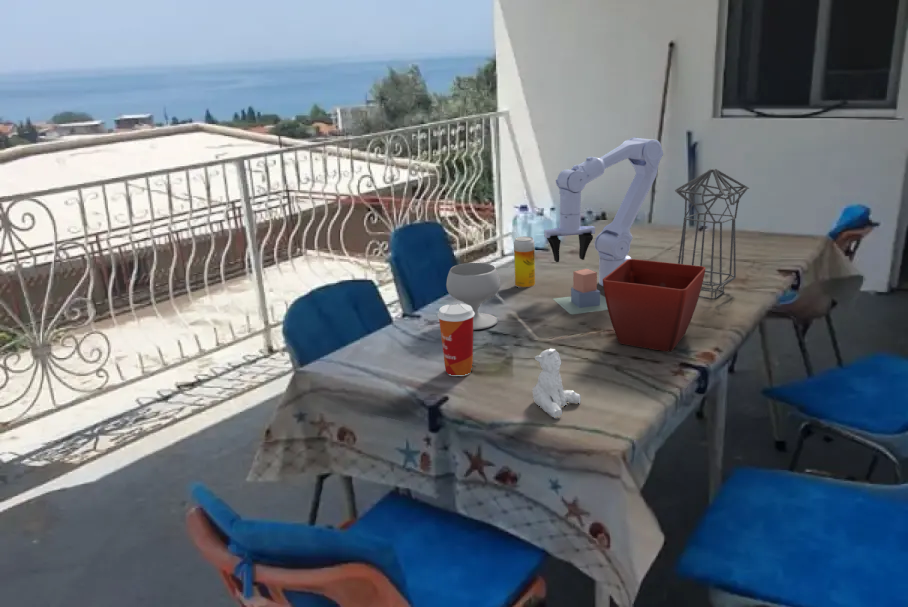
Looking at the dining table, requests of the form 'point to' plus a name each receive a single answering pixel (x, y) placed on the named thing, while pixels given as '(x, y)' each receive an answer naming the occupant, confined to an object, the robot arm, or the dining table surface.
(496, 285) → the chalice
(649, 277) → the plant pot
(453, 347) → the coffee cup
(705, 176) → the geometric lantern
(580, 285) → the top brick
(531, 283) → the beer can
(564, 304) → the plate
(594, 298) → the base brick
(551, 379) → the seated beast figurine
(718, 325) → the dining table surface
